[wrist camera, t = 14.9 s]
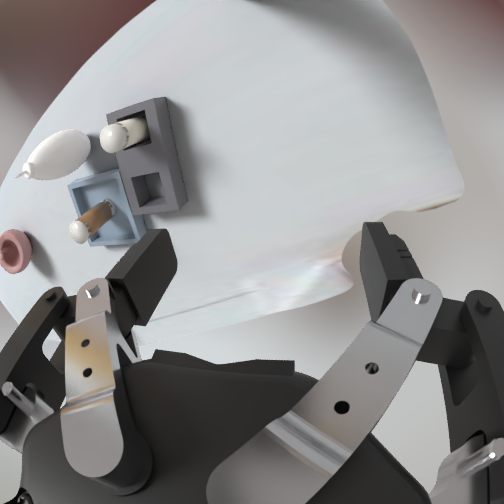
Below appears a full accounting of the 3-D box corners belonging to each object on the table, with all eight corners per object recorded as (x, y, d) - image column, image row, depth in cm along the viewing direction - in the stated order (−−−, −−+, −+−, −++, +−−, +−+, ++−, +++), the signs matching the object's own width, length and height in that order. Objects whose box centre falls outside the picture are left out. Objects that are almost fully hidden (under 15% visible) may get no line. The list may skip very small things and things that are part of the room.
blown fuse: (98, 200, 48) (66, 224, 39) (112, 197, 47) (80, 221, 38) (104, 218, 50) (74, 244, 41) (119, 216, 49) (89, 243, 40)
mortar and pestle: (41, 240, 58) (14, 265, 48) (36, 264, 64) (13, 288, 54) (17, 213, 55) (-11, 234, 45) (13, 239, 61) (-10, 260, 51)
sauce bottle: (66, 141, 42) (-3, 174, 27) (86, 115, 39) (11, 141, 24) (85, 170, 45) (19, 211, 30) (107, 146, 42) (34, 183, 27)
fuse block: (119, 111, 38) (106, 114, 35) (165, 96, 37) (153, 98, 33) (144, 206, 48) (133, 215, 44) (187, 200, 46) (179, 210, 43)
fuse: (133, 118, 39) (97, 129, 31) (154, 112, 38) (118, 121, 30) (138, 140, 41) (103, 155, 33) (158, 135, 40) (125, 149, 32)
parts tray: (76, 179, 47) (67, 185, 44) (128, 165, 44) (118, 171, 41) (97, 239, 54) (90, 246, 51) (148, 235, 51) (141, 243, 49)
